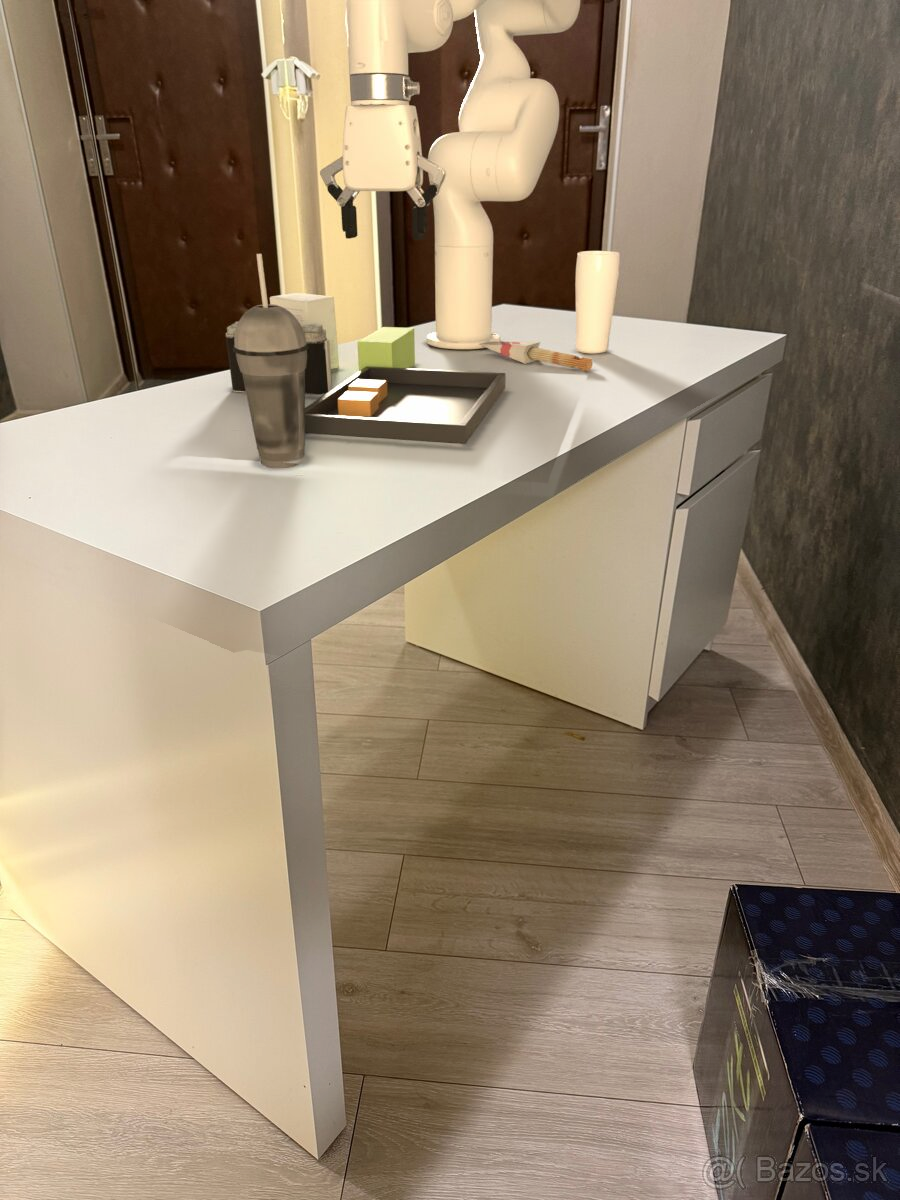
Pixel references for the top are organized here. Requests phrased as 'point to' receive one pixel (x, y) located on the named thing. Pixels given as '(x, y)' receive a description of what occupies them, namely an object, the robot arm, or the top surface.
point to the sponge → (387, 348)
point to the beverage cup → (273, 378)
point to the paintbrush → (537, 354)
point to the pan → (412, 405)
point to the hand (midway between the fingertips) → (384, 238)
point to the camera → (316, 364)
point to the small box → (313, 315)
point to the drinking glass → (595, 299)
